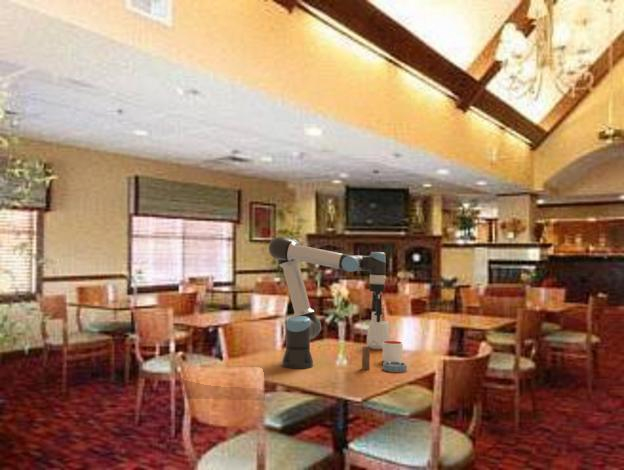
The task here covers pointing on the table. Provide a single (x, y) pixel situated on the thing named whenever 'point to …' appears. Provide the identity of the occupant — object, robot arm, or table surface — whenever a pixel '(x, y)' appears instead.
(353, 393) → the table surface
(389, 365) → the blue bowl
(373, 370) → the table surface
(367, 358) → the wooden rectangular block
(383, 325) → the vase
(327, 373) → the table surface
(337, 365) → the table surface
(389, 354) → the cup
